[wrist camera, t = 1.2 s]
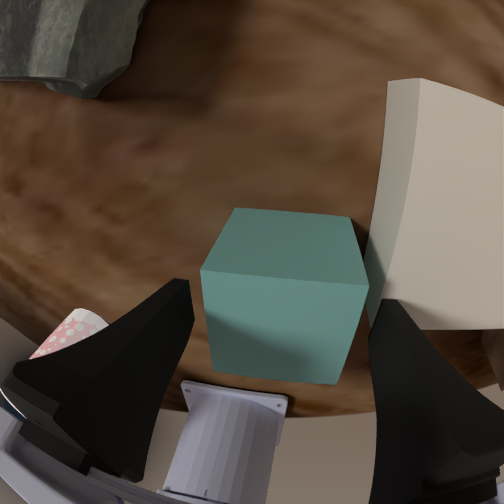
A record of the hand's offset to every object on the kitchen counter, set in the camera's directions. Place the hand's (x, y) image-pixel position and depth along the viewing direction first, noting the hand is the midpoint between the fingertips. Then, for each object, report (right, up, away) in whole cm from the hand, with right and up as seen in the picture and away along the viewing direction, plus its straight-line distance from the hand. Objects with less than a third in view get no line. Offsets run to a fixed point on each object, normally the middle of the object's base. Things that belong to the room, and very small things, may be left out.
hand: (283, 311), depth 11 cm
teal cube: (+1, +2, +3) cm, 4 cm away
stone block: (-12, +15, -2) cm, 19 cm away
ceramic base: (+9, +4, 0) cm, 10 cm away
